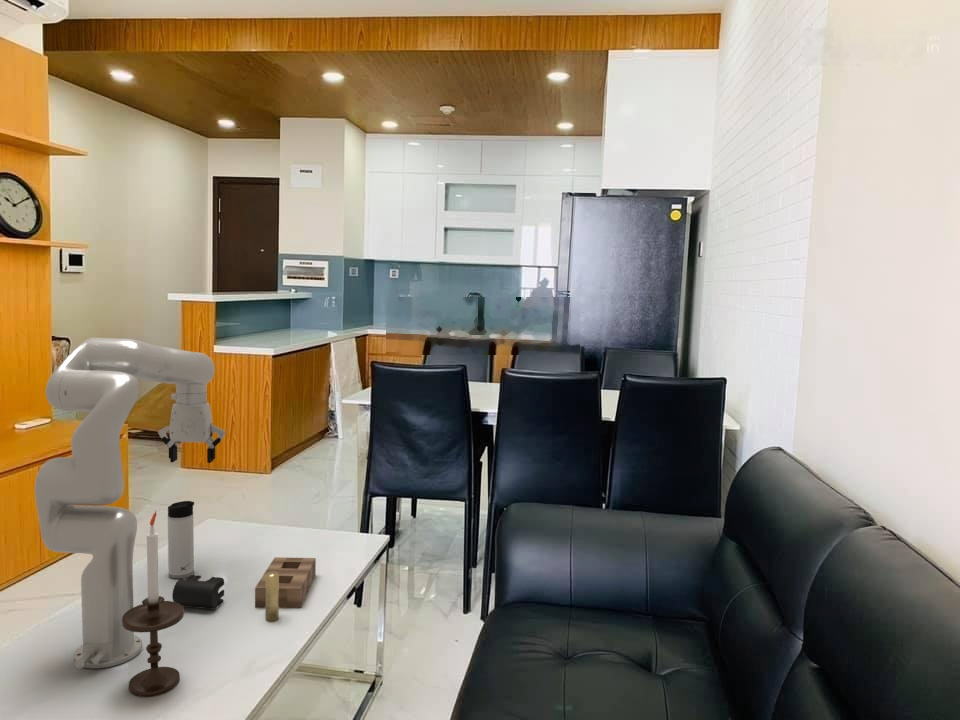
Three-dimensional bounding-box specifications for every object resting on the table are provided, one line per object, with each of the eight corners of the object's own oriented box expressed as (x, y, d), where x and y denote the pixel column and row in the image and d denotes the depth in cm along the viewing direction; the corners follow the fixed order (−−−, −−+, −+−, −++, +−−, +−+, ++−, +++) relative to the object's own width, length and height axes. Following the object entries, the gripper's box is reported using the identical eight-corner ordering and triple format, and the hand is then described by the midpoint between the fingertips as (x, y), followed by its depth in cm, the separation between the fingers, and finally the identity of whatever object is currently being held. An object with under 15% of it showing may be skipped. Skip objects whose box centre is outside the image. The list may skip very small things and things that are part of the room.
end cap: (172, 611, 165) (171, 584, 165) (188, 598, 172) (187, 572, 172) (211, 615, 164) (211, 587, 164) (226, 601, 171) (225, 575, 170)
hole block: (300, 608, 169) (300, 588, 168) (255, 607, 168) (255, 587, 168) (315, 575, 188) (315, 557, 187) (274, 575, 187) (274, 557, 187)
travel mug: (188, 579, 182) (188, 506, 180) (164, 578, 183) (163, 505, 180) (199, 570, 189) (198, 499, 187) (175, 569, 189) (174, 498, 187)
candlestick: (193, 668, 141) (191, 502, 138) (171, 700, 130) (168, 520, 127) (139, 668, 141) (136, 501, 137) (112, 699, 130) (108, 519, 126)
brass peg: (276, 621, 162) (277, 576, 161) (264, 621, 162) (264, 576, 161) (280, 615, 165) (280, 571, 164) (267, 615, 165) (267, 571, 164)
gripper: (152, 400, 180) (153, 464, 182) (220, 401, 181) (220, 465, 183) (164, 395, 187) (164, 457, 189) (229, 397, 188) (229, 458, 190)
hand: (192, 461), depth 186 cm, fingers open, 9 cm apart
